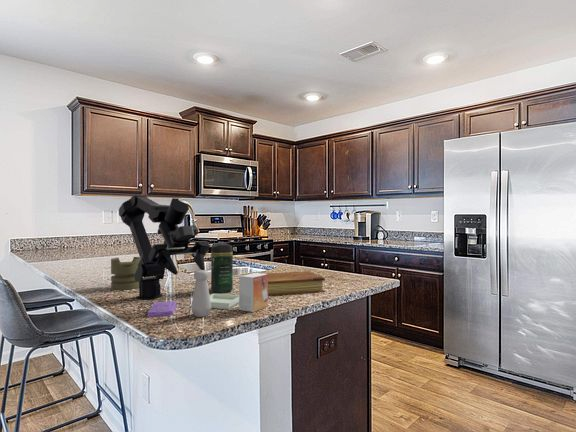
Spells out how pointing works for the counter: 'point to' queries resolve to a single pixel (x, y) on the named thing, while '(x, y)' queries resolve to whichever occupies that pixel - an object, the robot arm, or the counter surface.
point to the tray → (223, 301)
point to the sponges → (162, 309)
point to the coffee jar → (221, 267)
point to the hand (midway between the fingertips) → (190, 272)
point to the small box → (253, 292)
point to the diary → (294, 283)
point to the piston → (124, 274)
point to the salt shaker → (201, 294)
